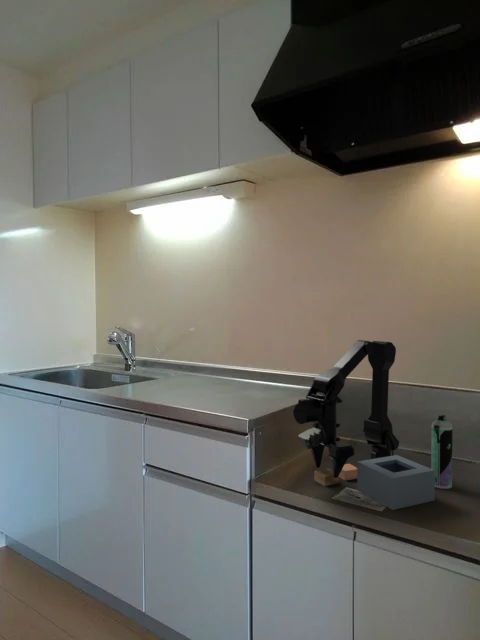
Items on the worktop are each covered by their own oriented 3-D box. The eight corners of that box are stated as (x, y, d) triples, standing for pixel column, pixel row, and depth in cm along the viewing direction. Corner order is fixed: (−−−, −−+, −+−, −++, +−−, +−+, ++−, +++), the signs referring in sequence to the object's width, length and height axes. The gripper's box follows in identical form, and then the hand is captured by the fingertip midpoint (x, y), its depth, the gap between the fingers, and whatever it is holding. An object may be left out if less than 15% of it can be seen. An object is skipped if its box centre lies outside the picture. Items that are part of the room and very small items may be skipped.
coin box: (396, 482, 137) (396, 454, 137) (434, 500, 125) (434, 470, 124) (357, 490, 132) (357, 461, 132) (392, 510, 119) (392, 478, 119)
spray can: (450, 490, 131) (451, 418, 131) (429, 486, 134) (429, 416, 134) (453, 484, 136) (454, 414, 135) (433, 480, 139) (433, 412, 138)
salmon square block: (349, 473, 146) (349, 463, 146) (359, 478, 141) (359, 468, 141) (335, 475, 144) (335, 465, 144) (344, 481, 139) (344, 471, 139)
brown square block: (328, 478, 142) (328, 468, 142) (338, 484, 137) (338, 473, 137) (314, 481, 140) (314, 470, 139) (324, 486, 135) (324, 476, 135)
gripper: (286, 415, 143) (286, 466, 144) (321, 429, 126) (321, 488, 127) (317, 411, 148) (317, 461, 148) (355, 425, 131) (355, 481, 131)
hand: (326, 472), depth 138 cm, fingers open, 9 cm apart
